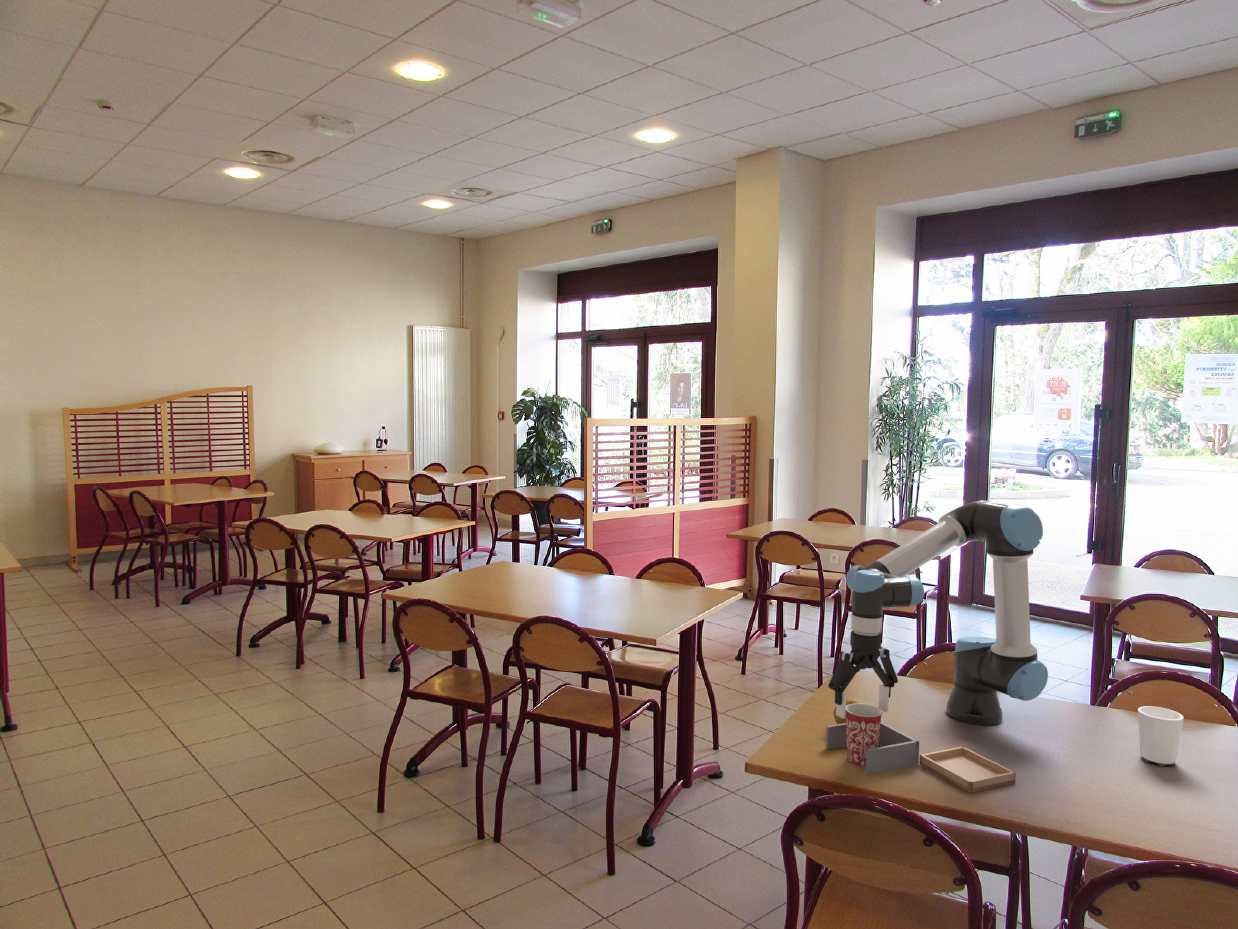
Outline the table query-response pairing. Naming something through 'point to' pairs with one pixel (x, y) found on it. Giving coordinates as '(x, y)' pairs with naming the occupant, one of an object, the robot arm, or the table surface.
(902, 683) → the table surface
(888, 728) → the bay
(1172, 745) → the cup
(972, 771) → the tray
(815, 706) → the table surface
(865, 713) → the mug
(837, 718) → the apple
